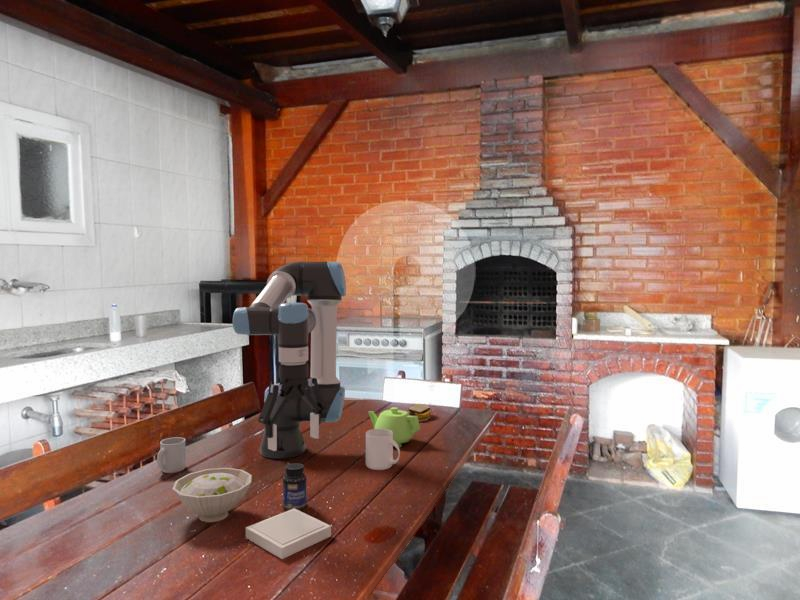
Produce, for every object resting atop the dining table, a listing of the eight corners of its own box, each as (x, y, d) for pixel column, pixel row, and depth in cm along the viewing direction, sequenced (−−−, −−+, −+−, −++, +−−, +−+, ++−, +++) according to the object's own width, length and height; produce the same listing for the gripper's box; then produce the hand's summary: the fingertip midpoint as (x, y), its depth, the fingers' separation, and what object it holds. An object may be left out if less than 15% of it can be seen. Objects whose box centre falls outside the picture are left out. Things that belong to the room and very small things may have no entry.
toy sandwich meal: (394, 418, 234) (394, 407, 233) (418, 412, 242) (418, 402, 242) (413, 425, 224) (413, 413, 224) (438, 419, 232) (438, 407, 232)
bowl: (208, 541, 129) (207, 499, 129) (156, 521, 140) (155, 481, 139) (269, 510, 146) (268, 473, 145) (218, 494, 156) (218, 458, 155)
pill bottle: (286, 514, 144) (286, 472, 143) (280, 504, 149) (279, 464, 148) (309, 509, 147) (309, 467, 146) (302, 500, 152) (302, 460, 151)
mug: (391, 475, 170) (391, 440, 170) (360, 467, 177) (360, 433, 176) (406, 466, 178) (407, 433, 177) (376, 459, 184) (376, 427, 184)
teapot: (360, 443, 200) (360, 408, 199) (378, 433, 212) (378, 400, 211) (411, 452, 191) (411, 415, 190) (426, 441, 203) (427, 406, 202)
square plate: (245, 537, 131) (245, 526, 131) (294, 517, 142) (294, 507, 141) (281, 559, 122) (281, 547, 122) (330, 536, 132) (330, 525, 132)
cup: (190, 466, 177) (190, 438, 176) (167, 478, 167) (167, 448, 167) (172, 463, 179) (171, 436, 178) (148, 474, 170) (147, 445, 169)
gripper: (260, 370, 134) (261, 458, 135) (339, 358, 152) (339, 435, 153) (243, 367, 139) (244, 451, 140) (321, 355, 157) (321, 430, 158)
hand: (294, 443), depth 147 cm, fingers open, 13 cm apart
